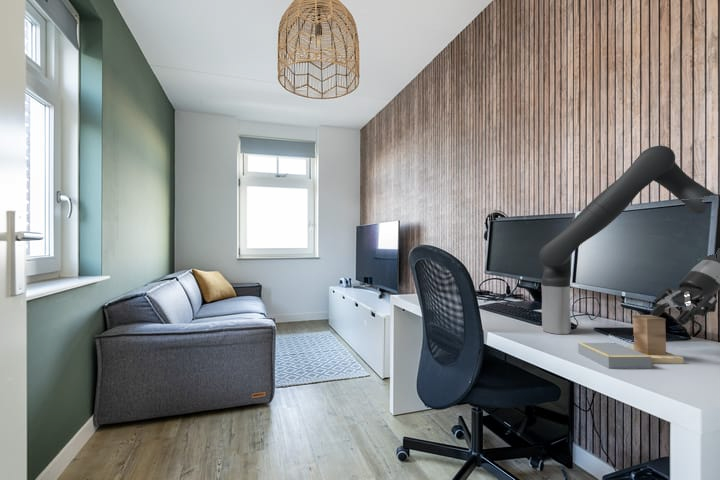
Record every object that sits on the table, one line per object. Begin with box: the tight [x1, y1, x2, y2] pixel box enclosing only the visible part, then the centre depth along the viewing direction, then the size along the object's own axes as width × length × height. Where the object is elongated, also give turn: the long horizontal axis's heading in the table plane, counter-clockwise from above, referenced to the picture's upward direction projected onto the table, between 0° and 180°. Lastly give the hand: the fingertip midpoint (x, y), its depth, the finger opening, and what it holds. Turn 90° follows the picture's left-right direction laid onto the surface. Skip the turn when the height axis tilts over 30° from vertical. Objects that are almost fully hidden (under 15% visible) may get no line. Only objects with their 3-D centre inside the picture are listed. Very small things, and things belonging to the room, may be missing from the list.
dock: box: [577, 342, 652, 369], centre depth 96 cm, size 13×11×3 cm
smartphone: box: [608, 333, 634, 347], centre depth 113 cm, size 7×1×15 cm
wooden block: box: [632, 314, 667, 355], centre depth 98 cm, size 5×5×10 cm
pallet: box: [626, 346, 685, 365], centre depth 97 cm, size 10×10×2 cm
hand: (665, 319), depth 98 cm, fingers open, 8 cm apart
